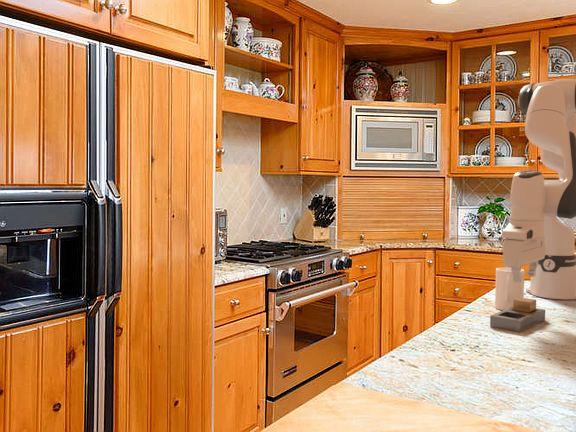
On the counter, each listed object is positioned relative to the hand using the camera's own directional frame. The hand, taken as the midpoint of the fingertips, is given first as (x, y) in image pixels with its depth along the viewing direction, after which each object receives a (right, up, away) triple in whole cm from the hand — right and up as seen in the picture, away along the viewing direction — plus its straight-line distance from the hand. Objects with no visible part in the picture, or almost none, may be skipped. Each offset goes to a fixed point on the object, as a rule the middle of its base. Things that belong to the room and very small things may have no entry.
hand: (524, 279), depth 153 cm
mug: (+1, -11, +14) cm, 18 cm away
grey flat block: (-3, -12, -3) cm, 12 cm away
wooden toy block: (0, -12, 0) cm, 12 cm away
